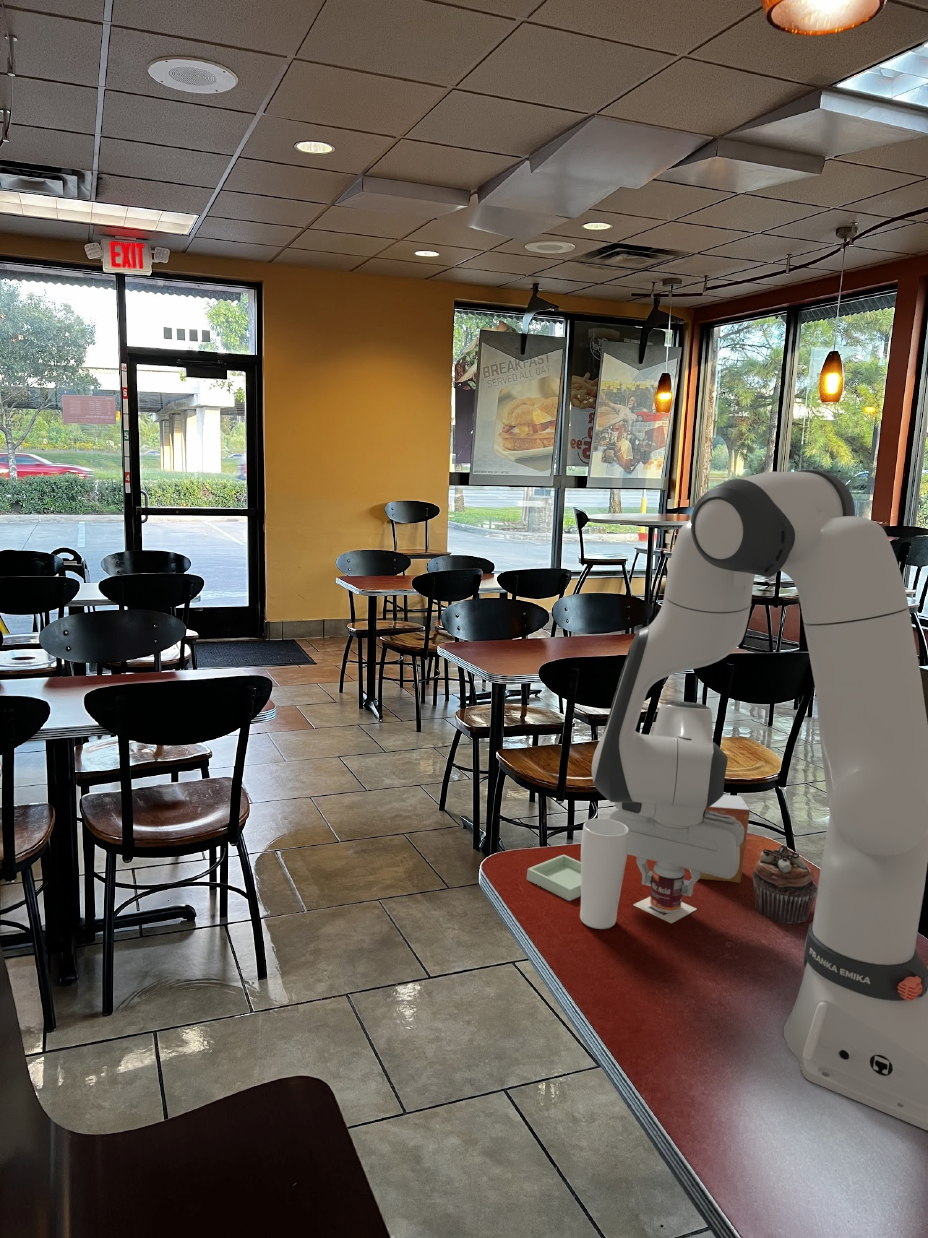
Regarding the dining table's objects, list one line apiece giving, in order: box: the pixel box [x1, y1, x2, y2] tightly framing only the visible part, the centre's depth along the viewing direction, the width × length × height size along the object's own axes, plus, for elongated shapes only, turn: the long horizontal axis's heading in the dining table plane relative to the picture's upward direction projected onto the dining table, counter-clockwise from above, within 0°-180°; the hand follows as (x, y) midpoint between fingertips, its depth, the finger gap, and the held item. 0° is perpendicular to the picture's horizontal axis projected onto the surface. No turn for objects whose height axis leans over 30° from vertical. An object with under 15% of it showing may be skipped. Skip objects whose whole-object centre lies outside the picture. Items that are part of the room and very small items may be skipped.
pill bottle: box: [649, 860, 686, 913], centre depth 141 cm, size 5×5×8 cm
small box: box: [689, 794, 751, 883], centre depth 154 cm, size 8×6×13 cm
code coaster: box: [632, 896, 698, 924], centre depth 142 cm, size 7×7×1 cm
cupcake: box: [752, 844, 818, 925], centre depth 142 cm, size 10×10×10 cm
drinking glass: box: [579, 817, 629, 930], centre depth 135 cm, size 7×7×15 cm
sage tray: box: [526, 854, 581, 902], centre depth 148 cm, size 9×9×2 cm
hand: (666, 889), depth 142 cm, fingers closed on pill bottle, 5 cm apart
